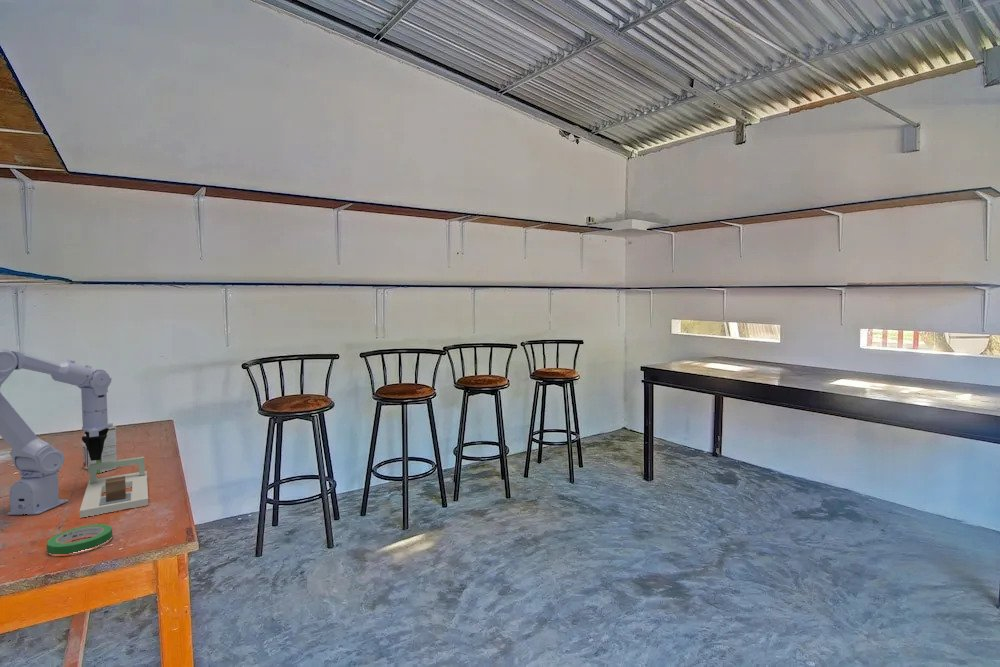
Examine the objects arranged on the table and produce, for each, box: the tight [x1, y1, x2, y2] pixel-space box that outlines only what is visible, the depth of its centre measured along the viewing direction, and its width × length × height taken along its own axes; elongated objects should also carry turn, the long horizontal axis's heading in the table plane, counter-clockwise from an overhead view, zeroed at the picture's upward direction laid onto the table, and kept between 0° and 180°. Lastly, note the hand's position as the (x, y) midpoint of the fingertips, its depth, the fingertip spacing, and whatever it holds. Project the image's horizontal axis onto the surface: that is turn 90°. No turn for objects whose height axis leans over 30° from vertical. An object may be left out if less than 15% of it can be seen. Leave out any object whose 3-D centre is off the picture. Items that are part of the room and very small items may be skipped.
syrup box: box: [87, 425, 118, 474], centre depth 167 cm, size 6×6×14 cm
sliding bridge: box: [88, 456, 146, 483], centre depth 151 cm, size 2×13×5 cm, turn 125°
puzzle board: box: [79, 470, 149, 519], centre depth 143 cm, size 30×14×2 cm, turn 35°
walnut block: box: [105, 476, 127, 502], centre depth 134 cm, size 4×4×5 cm
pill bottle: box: [82, 433, 88, 470], centre depth 170 cm, size 6×6×11 cm
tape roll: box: [46, 523, 113, 554], centre depth 112 cm, size 11×11×3 cm
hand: (96, 457), depth 148 cm, fingers open, 7 cm apart
